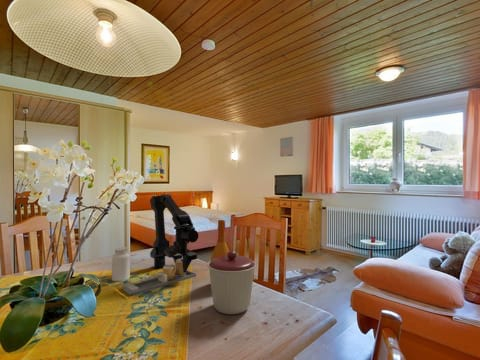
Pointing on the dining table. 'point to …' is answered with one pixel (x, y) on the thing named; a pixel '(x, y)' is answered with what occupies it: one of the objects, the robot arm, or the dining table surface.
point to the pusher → (161, 277)
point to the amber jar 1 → (169, 272)
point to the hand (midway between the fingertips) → (181, 271)
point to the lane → (153, 284)
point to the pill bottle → (120, 264)
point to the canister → (231, 282)
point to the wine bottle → (220, 242)
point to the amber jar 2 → (179, 268)
